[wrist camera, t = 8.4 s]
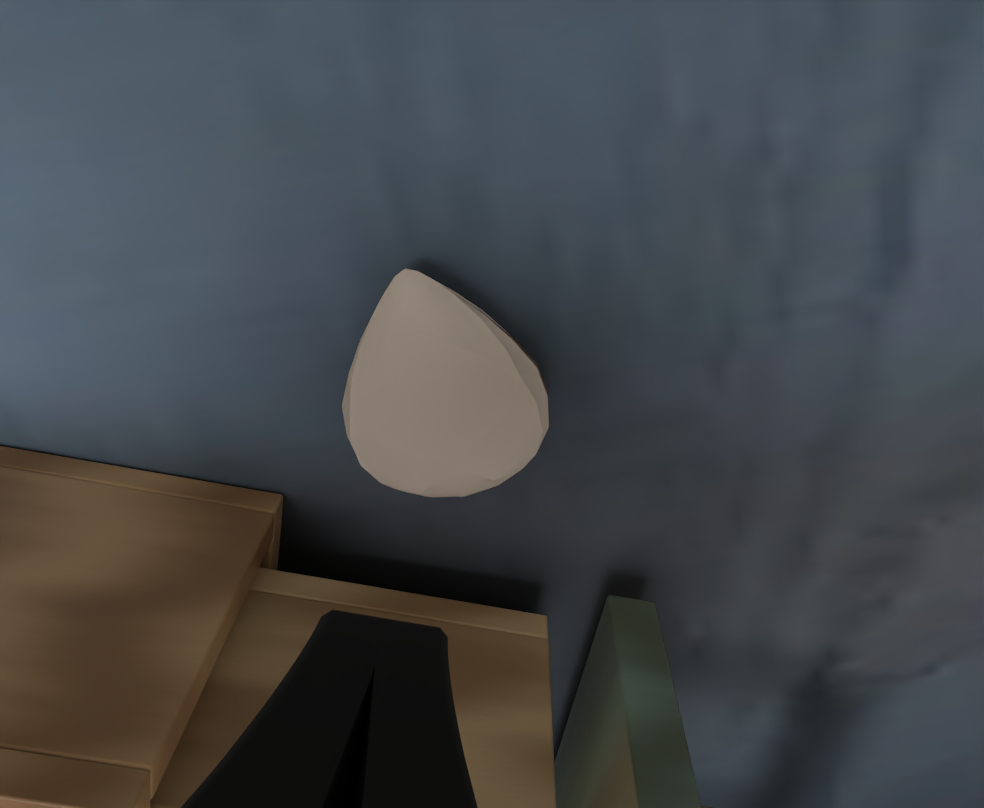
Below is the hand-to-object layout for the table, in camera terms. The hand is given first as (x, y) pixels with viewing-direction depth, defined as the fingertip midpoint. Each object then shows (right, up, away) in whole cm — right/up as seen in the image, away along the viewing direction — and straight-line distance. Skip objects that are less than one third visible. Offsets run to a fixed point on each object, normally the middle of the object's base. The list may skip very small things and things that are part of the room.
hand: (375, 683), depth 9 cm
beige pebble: (0, +4, +9) cm, 10 cm away
